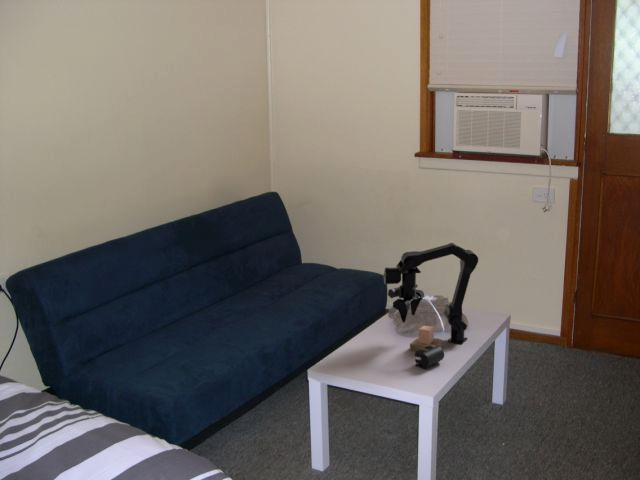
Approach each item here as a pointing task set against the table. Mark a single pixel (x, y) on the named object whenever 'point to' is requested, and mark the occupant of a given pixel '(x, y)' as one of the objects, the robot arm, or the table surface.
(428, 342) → the terracotta block
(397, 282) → the robot arm
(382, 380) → the table surface
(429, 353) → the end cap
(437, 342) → the tan block
